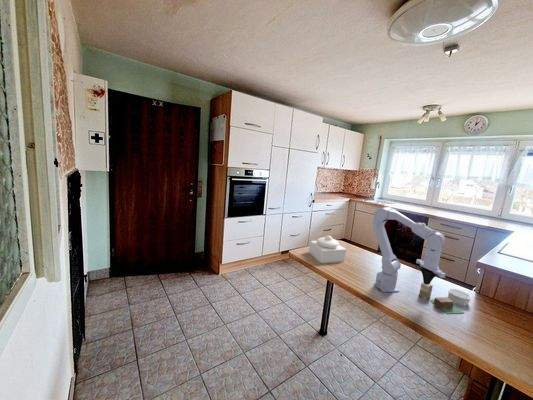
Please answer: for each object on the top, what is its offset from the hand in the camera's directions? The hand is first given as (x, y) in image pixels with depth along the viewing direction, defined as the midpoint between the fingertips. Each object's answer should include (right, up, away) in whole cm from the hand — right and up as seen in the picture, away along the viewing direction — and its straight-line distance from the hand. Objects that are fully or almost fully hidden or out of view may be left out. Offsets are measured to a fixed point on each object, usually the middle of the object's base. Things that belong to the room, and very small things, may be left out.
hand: (426, 283), depth 111 cm
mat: (+10, -11, 0) cm, 15 cm away
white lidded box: (-36, 0, +49) cm, 61 cm away
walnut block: (+5, -9, -1) cm, 10 cm away
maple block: (+4, -9, +8) cm, 13 cm away
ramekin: (+20, -11, +6) cm, 24 cm away
